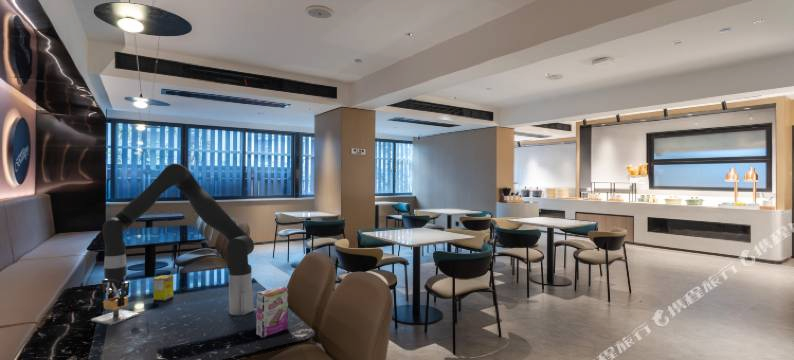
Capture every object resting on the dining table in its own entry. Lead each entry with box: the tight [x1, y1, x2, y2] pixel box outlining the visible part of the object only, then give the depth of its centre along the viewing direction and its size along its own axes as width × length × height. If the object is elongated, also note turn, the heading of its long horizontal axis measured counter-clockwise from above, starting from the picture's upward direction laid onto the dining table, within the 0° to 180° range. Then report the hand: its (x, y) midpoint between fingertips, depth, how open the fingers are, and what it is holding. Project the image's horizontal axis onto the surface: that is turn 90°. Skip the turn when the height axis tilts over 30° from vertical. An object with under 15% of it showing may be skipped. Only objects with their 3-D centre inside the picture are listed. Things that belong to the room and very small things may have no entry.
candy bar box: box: [255, 285, 289, 339], centre depth 149 cm, size 11×5×16 cm, turn 141°
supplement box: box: [152, 274, 174, 302], centre depth 186 cm, size 6×6×11 cm
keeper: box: [90, 299, 141, 326], centre depth 162 cm, size 12×12×8 cm
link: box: [103, 296, 129, 311], centre depth 162 cm, size 6×6×4 cm
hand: (115, 305), depth 162 cm, fingers closed on link, 6 cm apart
